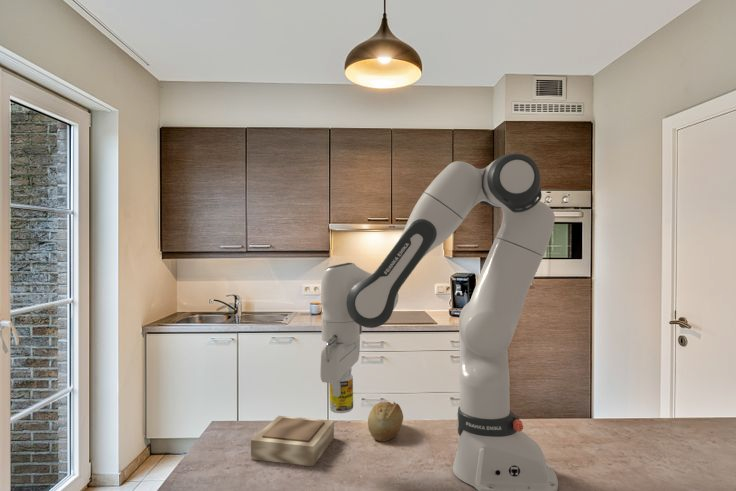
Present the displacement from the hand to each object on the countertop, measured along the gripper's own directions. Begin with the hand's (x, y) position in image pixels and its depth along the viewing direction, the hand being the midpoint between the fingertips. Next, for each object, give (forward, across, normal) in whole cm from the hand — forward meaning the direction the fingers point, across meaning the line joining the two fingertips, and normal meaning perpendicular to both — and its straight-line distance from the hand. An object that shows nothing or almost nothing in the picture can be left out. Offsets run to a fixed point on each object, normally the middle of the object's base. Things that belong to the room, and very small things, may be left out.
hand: (341, 390), depth 106 cm
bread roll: (+18, +21, -6) cm, 28 cm away
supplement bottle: (+5, 0, 0) cm, 5 cm away
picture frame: (+17, +6, +15) cm, 23 cm away
